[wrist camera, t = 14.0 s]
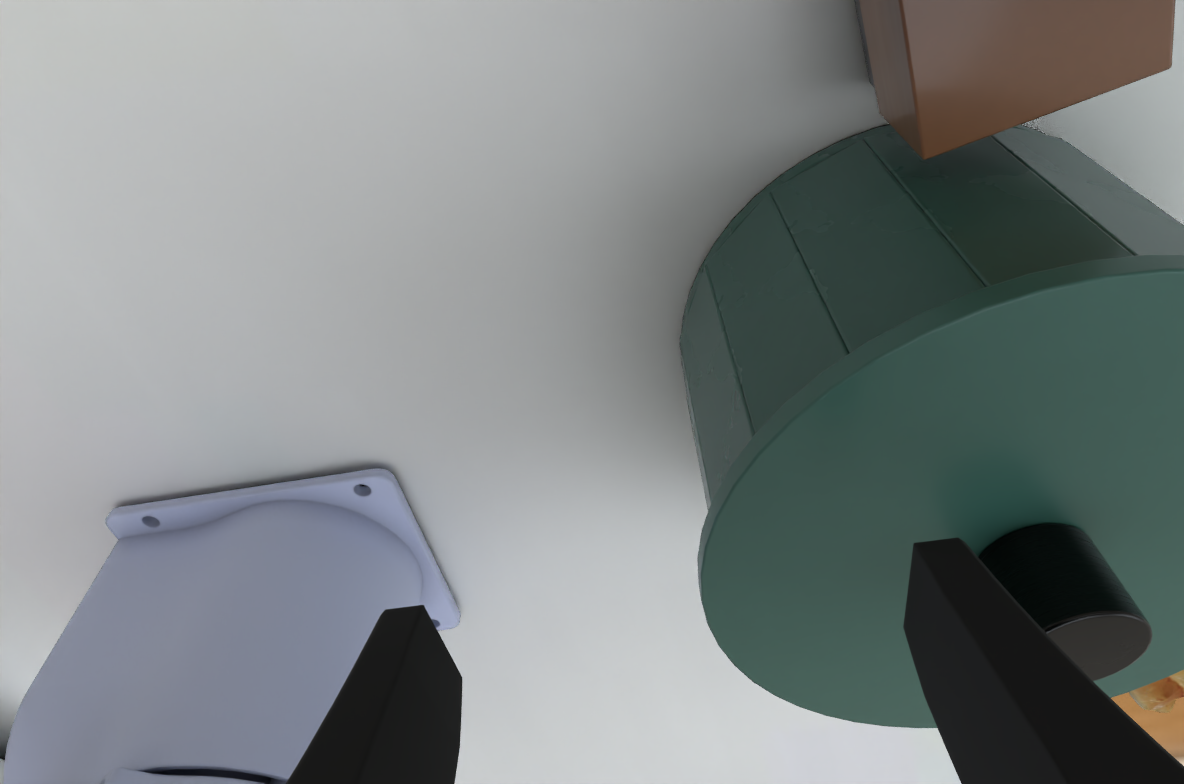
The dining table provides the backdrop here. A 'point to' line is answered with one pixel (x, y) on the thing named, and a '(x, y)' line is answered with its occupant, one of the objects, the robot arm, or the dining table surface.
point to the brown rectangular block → (1003, 60)
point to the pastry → (1160, 693)
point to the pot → (883, 260)
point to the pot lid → (967, 490)
